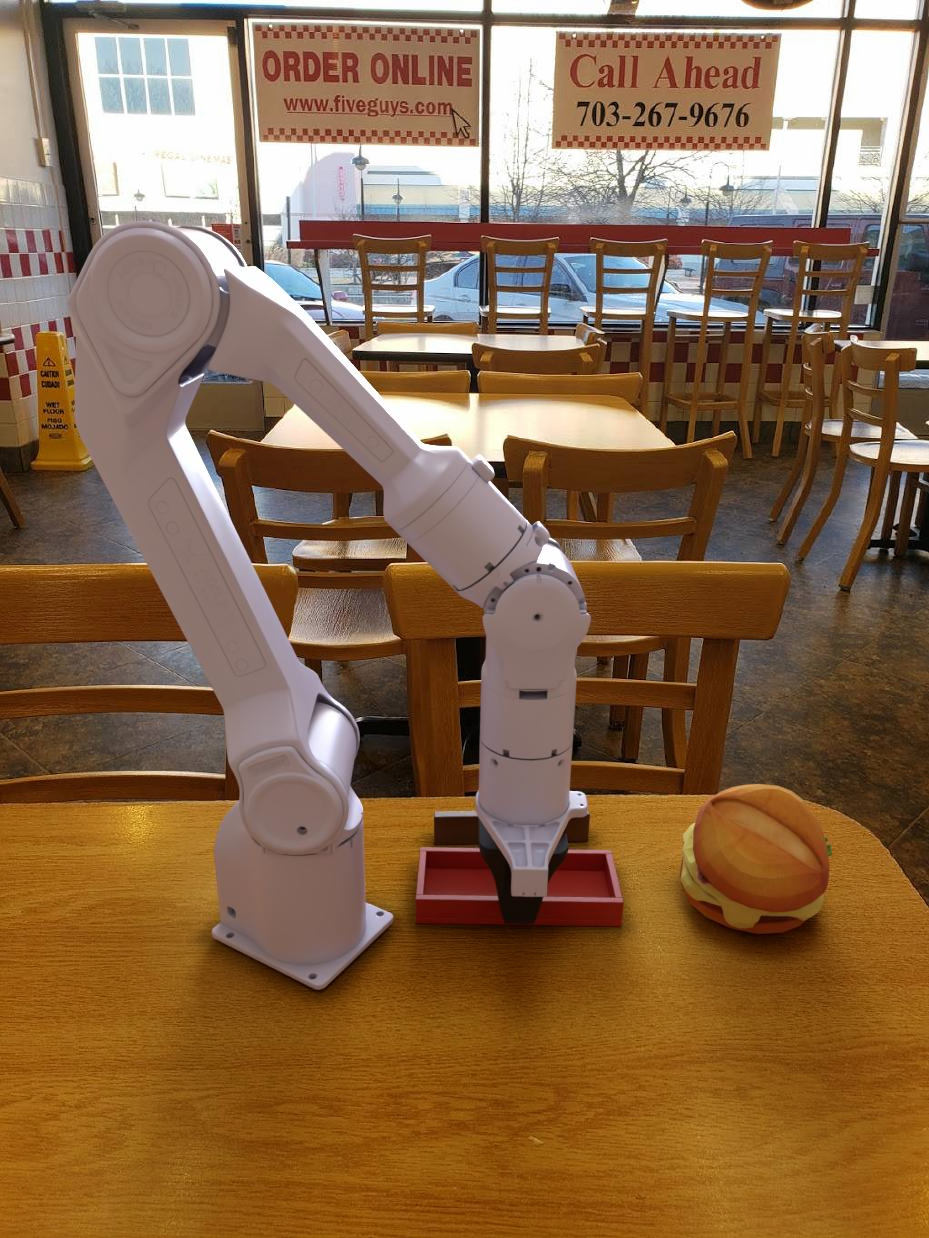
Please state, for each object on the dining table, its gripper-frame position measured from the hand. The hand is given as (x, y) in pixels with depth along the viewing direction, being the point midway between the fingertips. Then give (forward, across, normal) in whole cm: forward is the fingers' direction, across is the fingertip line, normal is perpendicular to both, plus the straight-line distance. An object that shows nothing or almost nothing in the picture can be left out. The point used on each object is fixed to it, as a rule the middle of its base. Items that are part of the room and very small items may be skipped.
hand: (518, 917), depth 63 cm
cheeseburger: (+1, +4, -16) cm, 17 cm away
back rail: (+1, +11, 0) cm, 11 cm away
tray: (+1, +4, 0) cm, 4 cm away
